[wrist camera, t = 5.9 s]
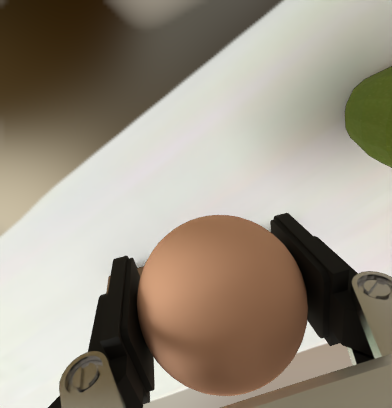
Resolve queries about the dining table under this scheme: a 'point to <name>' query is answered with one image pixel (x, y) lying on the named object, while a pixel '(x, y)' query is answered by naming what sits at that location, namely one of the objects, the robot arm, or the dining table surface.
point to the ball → (222, 305)
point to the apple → (372, 116)
